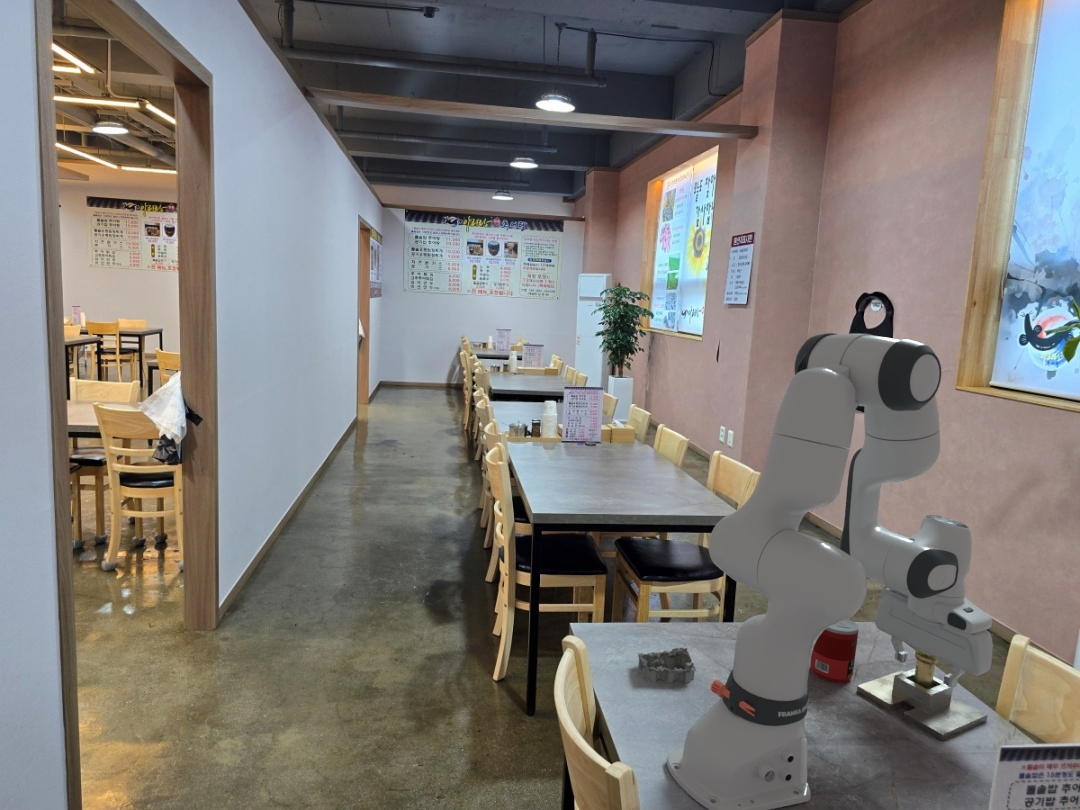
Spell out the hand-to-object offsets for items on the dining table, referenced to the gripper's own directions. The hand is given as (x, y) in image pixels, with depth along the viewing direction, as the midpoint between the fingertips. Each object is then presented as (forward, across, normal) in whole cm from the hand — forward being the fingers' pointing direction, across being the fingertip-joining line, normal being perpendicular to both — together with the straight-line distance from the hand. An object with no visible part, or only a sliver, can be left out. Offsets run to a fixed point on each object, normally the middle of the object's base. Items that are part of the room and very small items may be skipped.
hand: (924, 672), depth 128 cm
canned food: (+7, -15, -6) cm, 18 cm away
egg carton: (+7, -29, -37) cm, 48 cm away
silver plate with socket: (+7, 0, 0) cm, 7 cm away
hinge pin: (+6, 0, 0) cm, 6 cm away
